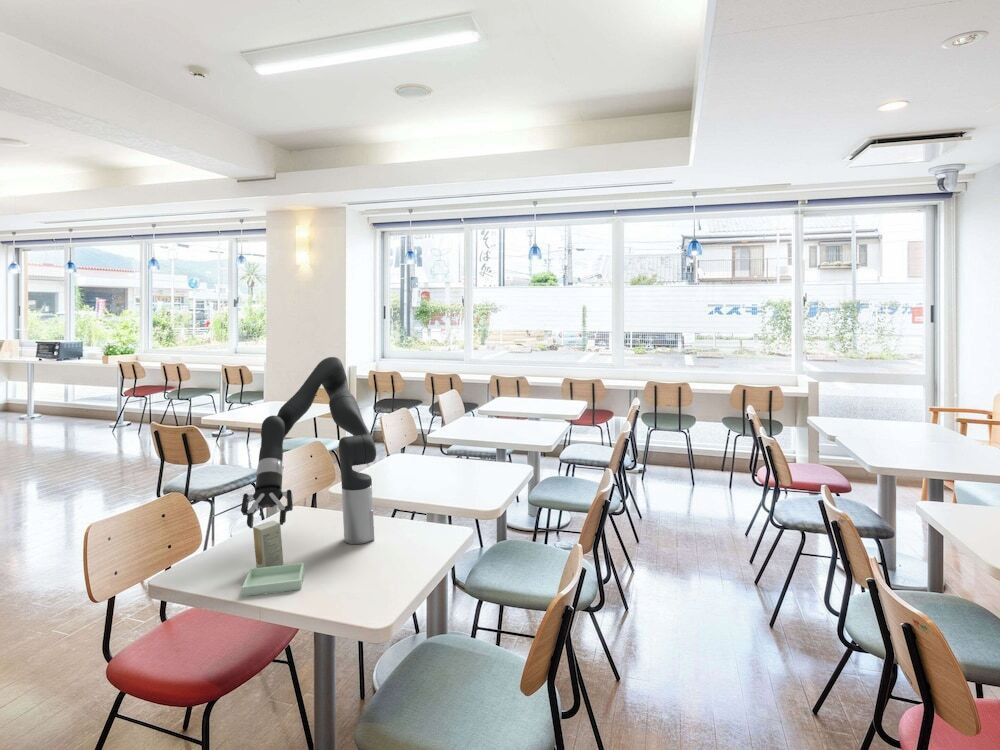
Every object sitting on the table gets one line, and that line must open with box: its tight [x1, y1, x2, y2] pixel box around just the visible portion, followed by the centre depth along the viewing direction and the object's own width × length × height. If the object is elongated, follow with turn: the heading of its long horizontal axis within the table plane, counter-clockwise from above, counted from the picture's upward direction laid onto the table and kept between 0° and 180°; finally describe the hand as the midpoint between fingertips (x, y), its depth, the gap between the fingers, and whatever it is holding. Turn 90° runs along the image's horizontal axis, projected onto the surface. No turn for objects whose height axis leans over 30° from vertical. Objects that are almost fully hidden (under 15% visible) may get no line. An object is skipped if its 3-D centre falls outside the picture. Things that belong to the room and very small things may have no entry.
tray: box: [242, 562, 305, 597], centre depth 151 cm, size 14×11×2 cm
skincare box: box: [252, 520, 284, 568], centre depth 162 cm, size 6×4×12 cm
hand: (266, 525), depth 168 cm, fingers open, 8 cm apart
